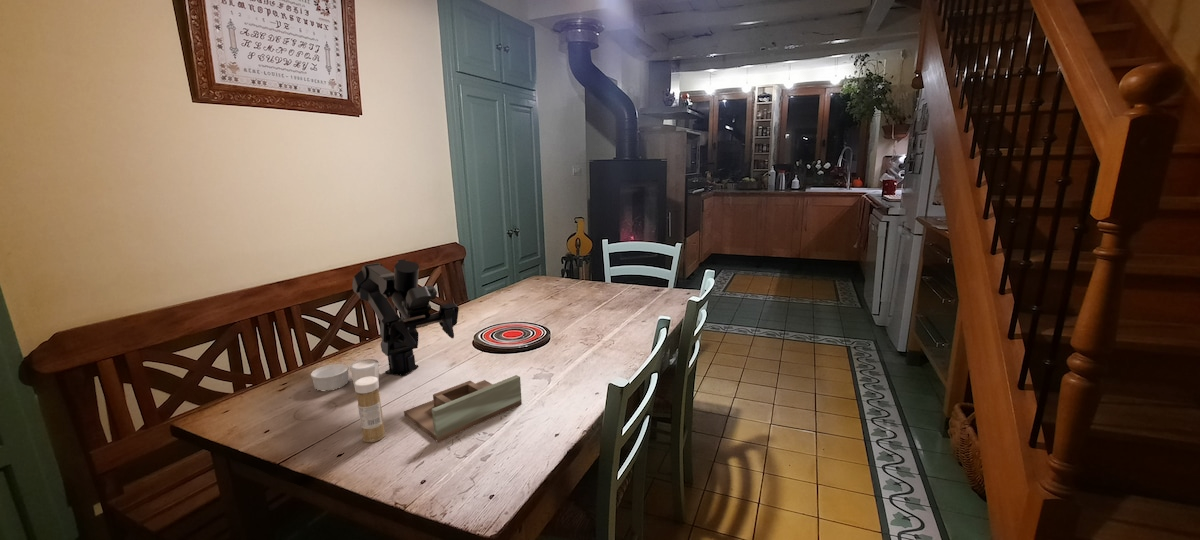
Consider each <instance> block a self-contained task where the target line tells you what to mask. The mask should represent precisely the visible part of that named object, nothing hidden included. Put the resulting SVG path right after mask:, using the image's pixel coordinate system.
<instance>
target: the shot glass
mask: <svg viewBox="0 0 1200 540" xmlns="http://www.w3.org/2000/svg"><path fill="white" fill-rule="evenodd" d="M379 366H380V363H379V360H377V359H373V358H367V359H363V360H359V361H358V360H357V361H355V362H353V363H351V364H350V365H349V370H350V371H349V372H350V374H351V378H352V383H353V387H354V388H355V385H354V384H355V382H356V381H357V380H359V379H361V378H364V377H369V376H373V377H376V378H378V382H379V383H380V367H379Z"/></svg>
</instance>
